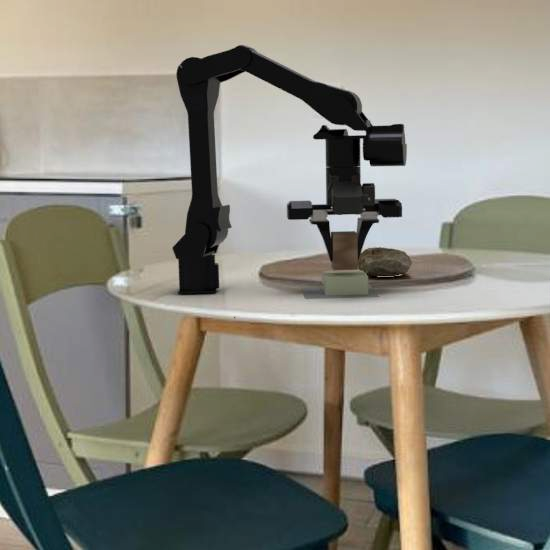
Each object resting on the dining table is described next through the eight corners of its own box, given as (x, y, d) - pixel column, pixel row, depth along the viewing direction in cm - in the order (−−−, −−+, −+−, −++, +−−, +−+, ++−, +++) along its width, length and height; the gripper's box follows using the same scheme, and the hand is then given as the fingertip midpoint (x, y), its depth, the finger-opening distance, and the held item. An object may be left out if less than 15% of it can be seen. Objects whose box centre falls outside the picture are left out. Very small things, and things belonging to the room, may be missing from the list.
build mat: (305, 301, 151) (305, 298, 151) (301, 289, 163) (301, 287, 162) (379, 298, 151) (379, 296, 151) (369, 287, 163) (369, 285, 163)
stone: (424, 270, 169) (397, 237, 167) (391, 299, 169) (364, 266, 167) (403, 263, 181) (377, 232, 180) (372, 290, 181) (347, 259, 179)
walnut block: (333, 270, 154) (333, 233, 153) (331, 267, 158) (330, 231, 157) (357, 269, 154) (357, 233, 153) (354, 266, 158) (354, 231, 157)
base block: (325, 295, 153) (325, 277, 153) (322, 288, 160) (322, 271, 160) (368, 294, 153) (368, 276, 153) (363, 287, 160) (362, 270, 160)
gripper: (288, 169, 146) (290, 268, 148) (407, 167, 146) (408, 265, 148) (285, 167, 157) (287, 260, 159) (396, 165, 157) (396, 257, 159)
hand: (344, 260), depth 156 cm, fingers closed on walnut block, 4 cm apart
